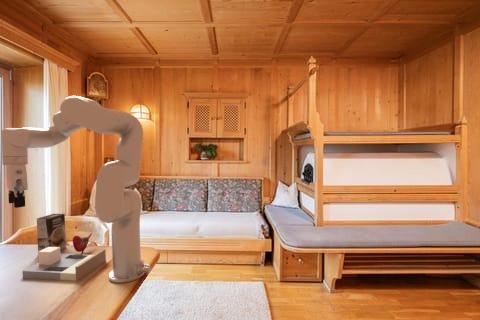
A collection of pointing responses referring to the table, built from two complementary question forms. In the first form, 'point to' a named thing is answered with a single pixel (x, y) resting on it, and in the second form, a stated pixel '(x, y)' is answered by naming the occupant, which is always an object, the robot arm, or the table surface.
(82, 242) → the decorative bird figurine
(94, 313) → the table surface
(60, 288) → the table surface
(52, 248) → the cream block
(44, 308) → the table surface
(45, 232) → the coffee box
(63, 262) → the board
